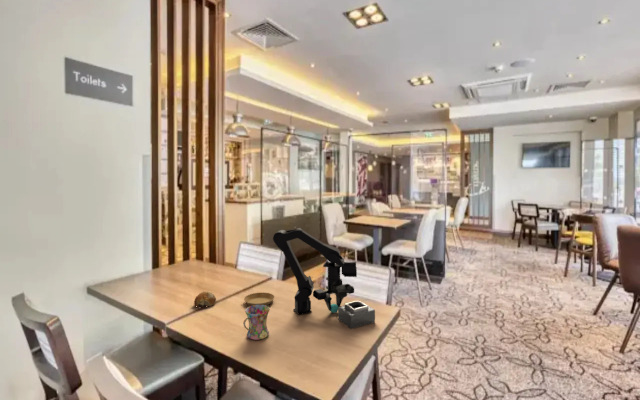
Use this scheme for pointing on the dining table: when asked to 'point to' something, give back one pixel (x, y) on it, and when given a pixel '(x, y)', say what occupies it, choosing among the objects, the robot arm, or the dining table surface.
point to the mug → (257, 321)
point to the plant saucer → (259, 299)
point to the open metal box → (356, 314)
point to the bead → (334, 308)
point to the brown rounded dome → (205, 299)
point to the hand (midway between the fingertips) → (333, 309)
